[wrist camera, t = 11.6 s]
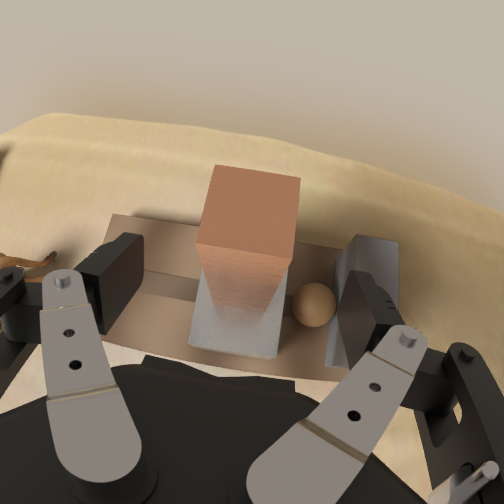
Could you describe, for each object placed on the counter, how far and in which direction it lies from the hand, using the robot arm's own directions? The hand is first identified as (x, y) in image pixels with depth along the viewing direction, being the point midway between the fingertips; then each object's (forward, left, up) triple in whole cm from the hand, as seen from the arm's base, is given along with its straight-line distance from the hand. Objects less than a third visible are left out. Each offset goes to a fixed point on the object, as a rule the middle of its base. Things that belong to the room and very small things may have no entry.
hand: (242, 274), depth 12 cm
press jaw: (0, -1, -11) cm, 11 cm away
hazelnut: (-5, -1, -11) cm, 12 cm away
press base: (+1, -1, -13) cm, 13 cm away
